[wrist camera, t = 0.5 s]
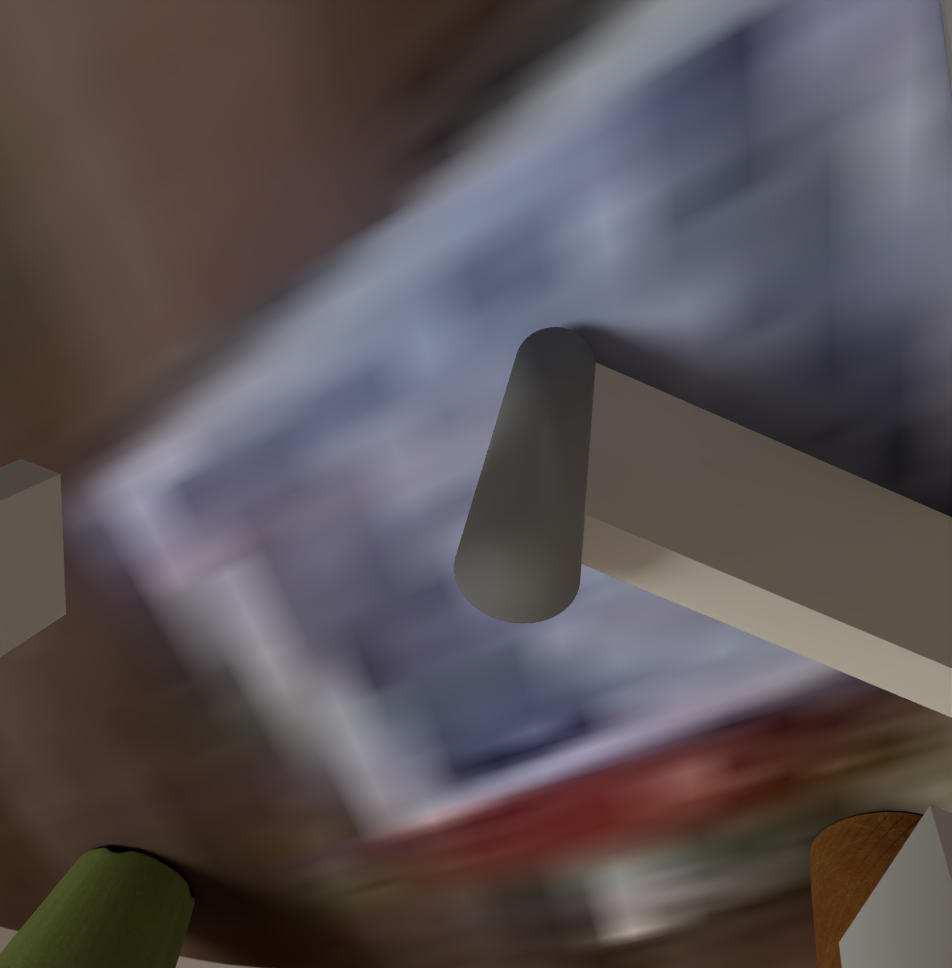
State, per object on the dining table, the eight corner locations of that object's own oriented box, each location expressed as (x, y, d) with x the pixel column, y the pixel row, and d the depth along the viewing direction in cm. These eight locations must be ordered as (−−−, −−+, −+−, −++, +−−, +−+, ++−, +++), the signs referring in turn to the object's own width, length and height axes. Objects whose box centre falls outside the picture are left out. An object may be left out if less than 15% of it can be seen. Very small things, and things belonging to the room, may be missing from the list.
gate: (1058, 543, 23) (1302, 846, 15) (1000, 596, 25) (1195, 903, 16) (534, 314, 22) (481, 504, 14) (503, 383, 23) (436, 594, 15)
